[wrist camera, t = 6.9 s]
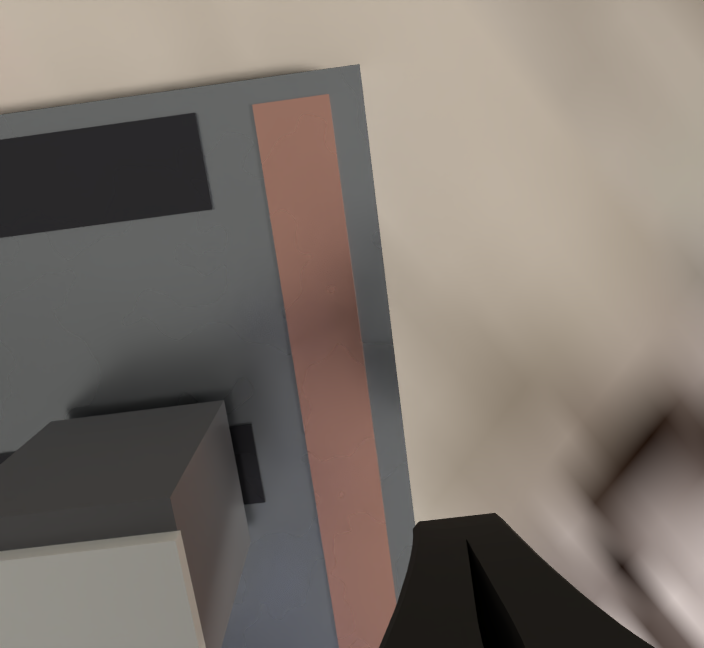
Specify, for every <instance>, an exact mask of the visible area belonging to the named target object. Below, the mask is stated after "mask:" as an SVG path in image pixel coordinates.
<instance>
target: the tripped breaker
mask: <svg viewBox="0 0 704 648" xmlns="http://www.w3.org/2000/svg"><path fill="white" fill-rule="evenodd" d="M250 542H251V540H250V535H249V529H248V524H247V519H246V514H245V508H244V503H243V498H242V492H241V487H240V482H239V477H238V471H237V466H236V461H235V455H234V450H233V445H232V440H231V434H230V429H229V424H228V418H227V413H226V408H225V403H224V400H220V401H212V402H204V403H196V404H188V405H180V406H172V407H164V408H155V409H147V410H139V411H131V412H123V413H115V414H107V415H99V416H90V417H82V418H74V419H66V420H58V421H51V422H50V423H49V424H47V425H46V426H45V427H44V428H43V429H42V430H40V431H39V432H38V433H37V434H36V435H34V436H33V437H32V438H31V439H30V440H29V441H27V442H26V443H25V444H24V445H23V446H21V447H20V448H19V449H18V450H17V451H16V452H14V453H13V454H12V455H11V456H10V457H8V458H7V459H6V460H5V461H4V462H3V463H1V464H0V648H221V647H222V643H223V639H224V636H225V632H226V629H227V625H228V621H229V618H230V614H231V610H232V607H233V603H234V600H235V596H236V592H237V589H238V585H239V582H240V578H241V574H242V571H243V567H244V563H245V560H246V556H247V553H248V549H249V545H250Z"/></svg>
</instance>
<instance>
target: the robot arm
mask: <svg viewBox="0 0 704 648" xmlns="http://www.w3.org/2000/svg"><path fill="white" fill-rule="evenodd" d="M379 648H654V647H653V646H651V645H650V644H648V643H647V642H645V641H644V640H642V639H641V638H639V637H638V636H636V635H635V634H633V633H632V632H631V631H629V630H628V629H626V628H625V627H624V626H622V625H621V624H619V623H618V622H617V621H616V620H614V619H613V618H612V617H610V616H609V615H608V614H607V613H605V612H604V611H603V610H601V609H600V608H599V607H598V606H596V605H595V604H594V603H593V602H591V601H590V600H589V599H588V598H587V597H585V596H584V595H583V594H582V593H580V592H579V591H578V590H577V589H576V588H575V587H573V586H572V585H571V584H570V583H569V582H568V581H567V580H566V579H564V578H563V577H562V576H561V575H560V574H559V573H558V572H556V571H555V570H554V569H553V568H552V567H551V566H550V565H549V564H548V563H546V562H545V561H544V560H543V559H542V558H541V557H540V556H539V555H538V554H537V553H536V552H535V551H534V550H533V549H532V548H531V547H530V546H529V545H528V544H527V543H526V542H525V541H524V540H523V539H522V538H521V537H520V536H519V535H518V534H517V533H516V532H515V531H514V530H513V529H512V528H511V527H510V526H509V525H508V524H507V523H506V522H505V521H504V520H503V519H502V518H501V517H499V516H498V515H497V514H496V513H491V514H482V515H473V516H464V517H455V518H447V519H438V520H429V521H420V522H418V523H417V525H416V526H415V527H414V528H413V543H412V550H411V556H410V560H409V564H408V568H407V573H406V576H405V579H404V582H403V585H402V589H401V592H400V595H399V598H398V601H397V604H396V607H395V610H394V612H393V615H392V617H391V620H390V622H389V625H388V627H387V629H386V632H385V634H384V637H383V639H382V642H381V644H380V646H379Z"/></svg>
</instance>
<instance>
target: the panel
mask: <svg viewBox="0 0 704 648" xmlns="http://www.w3.org/2000/svg"><path fill="white" fill-rule="evenodd" d="M220 400H224V403H225V408H226V413H227V418H228V424H229V429H230V434H231V440H232V445H233V450H234V455H235V461H236V466H237V471H238V477H239V482H240V487H241V492H242V498H243V503H244V508H245V514H246V519H247V524H248V529H249V535H250V540H251V542H250V545H249V549H248V553H247V556H246V560H245V563H244V567H243V571H242V574H241V578H240V582H239V585H238V589H237V592H236V596H235V600H234V603H233V607H232V610H231V614H230V618H229V621H228V625H227V629H226V632H225V636H224V639H223V643H222V647H221V648H379V646H380V644H381V642H382V639H383V637H384V634H385V632H386V629H387V627H388V625H389V622H390V620H391V617H392V615H393V612H394V610H395V607H396V604H397V601H398V598H399V595H400V592H401V589H402V585H403V582H404V579H405V576H406V573H407V568H408V564H409V560H410V556H411V550H412V543H413V528H414V527H415V521H414V513H413V505H412V496H411V488H410V480H409V471H408V463H407V455H406V447H405V438H404V430H403V422H402V413H401V405H400V397H399V388H398V380H397V372H396V364H395V355H394V347H393V339H392V330H391V322H390V314H389V305H388V297H387V289H386V281H385V272H384V264H383V256H382V247H381V239H380V231H379V222H378V214H377V206H376V198H375V189H374V181H373V173H372V164H371V156H370V148H369V139H368V131H367V123H366V115H365V106H364V98H363V90H362V81H361V73H360V65H359V64H357V65H350V66H343V67H336V68H329V69H322V70H315V71H308V72H301V73H293V74H286V75H279V76H272V77H265V78H258V79H251V80H244V81H237V82H229V83H222V84H215V85H208V86H201V87H194V88H187V89H180V90H173V91H165V92H158V93H151V94H144V95H137V96H130V97H123V98H116V99H109V100H101V101H94V102H87V103H80V104H73V105H66V106H59V107H52V108H45V109H37V110H30V111H23V112H16V113H9V114H2V115H0V464H1V463H3V462H4V461H5V460H6V459H7V458H8V457H10V456H11V455H12V454H13V453H14V452H16V451H17V450H18V449H19V448H20V447H21V446H23V445H24V444H25V443H26V442H27V441H29V440H30V439H31V438H32V437H33V436H34V435H36V434H37V433H38V432H39V431H40V430H42V429H43V428H44V427H45V426H46V425H47V424H49V423H50V422H51V421H58V420H66V419H74V418H82V417H90V416H99V415H107V414H115V413H123V412H131V411H139V410H147V409H155V408H164V407H172V406H180V405H188V404H196V403H204V402H212V401H220Z"/></svg>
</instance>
